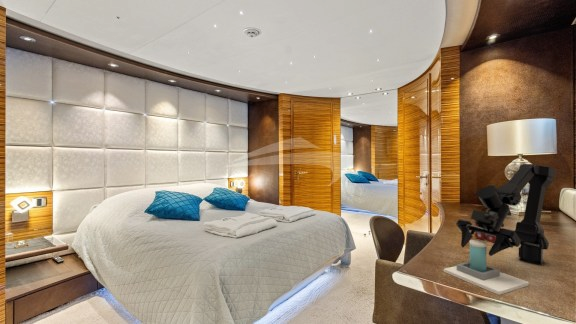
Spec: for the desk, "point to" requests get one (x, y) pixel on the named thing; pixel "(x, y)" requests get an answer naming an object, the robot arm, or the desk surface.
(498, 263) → the desk surface
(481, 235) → the toy fire truck
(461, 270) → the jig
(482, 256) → the teal cylinder white cap
